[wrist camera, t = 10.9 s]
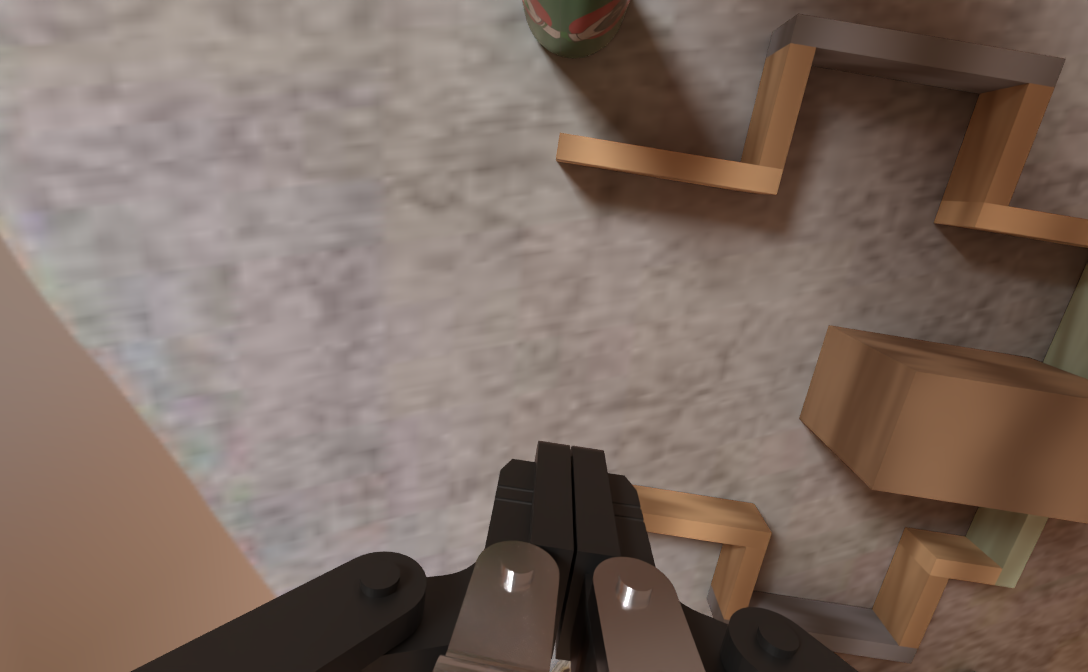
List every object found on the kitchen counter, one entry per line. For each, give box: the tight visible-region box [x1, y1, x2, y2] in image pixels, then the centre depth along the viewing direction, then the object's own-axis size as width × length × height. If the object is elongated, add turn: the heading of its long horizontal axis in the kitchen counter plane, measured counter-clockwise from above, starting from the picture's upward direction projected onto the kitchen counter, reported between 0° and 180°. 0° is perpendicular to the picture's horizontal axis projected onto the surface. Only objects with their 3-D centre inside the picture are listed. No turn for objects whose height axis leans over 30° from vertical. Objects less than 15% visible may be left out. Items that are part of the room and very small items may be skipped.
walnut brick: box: [799, 325, 1088, 523], centre depth 28 cm, size 12×6×8 cm, turn 81°
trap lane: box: [556, 14, 1088, 663], centre depth 30 cm, size 31×34×3 cm
